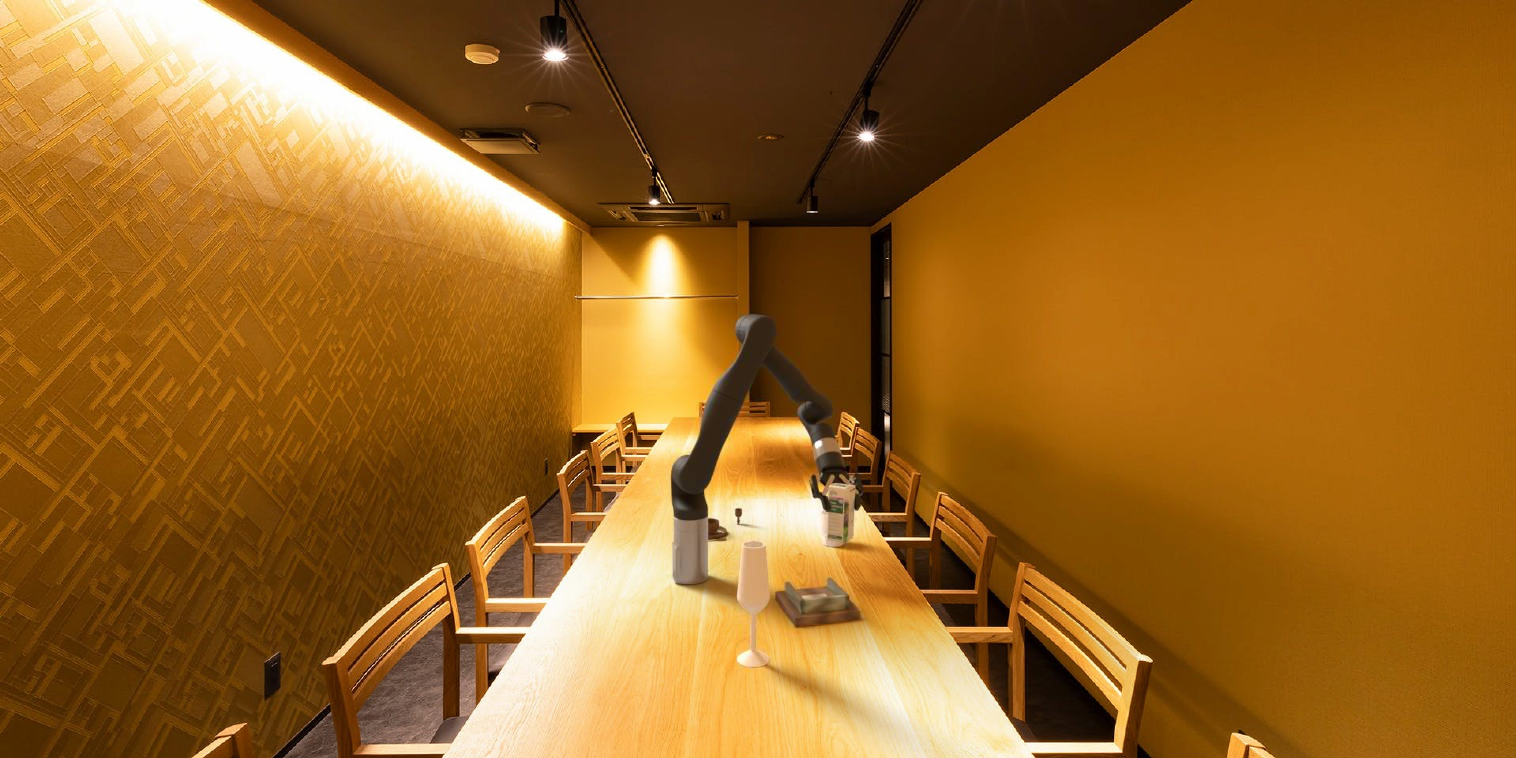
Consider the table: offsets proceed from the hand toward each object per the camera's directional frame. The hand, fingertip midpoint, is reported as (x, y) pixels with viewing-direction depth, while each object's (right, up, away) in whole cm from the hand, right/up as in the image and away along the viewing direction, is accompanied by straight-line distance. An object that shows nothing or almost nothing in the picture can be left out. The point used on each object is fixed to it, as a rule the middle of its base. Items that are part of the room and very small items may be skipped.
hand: (843, 509), depth 177 cm
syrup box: (-1, -8, +2) cm, 9 cm away
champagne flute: (-23, -23, -39) cm, 51 cm away
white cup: (+1, -18, +35) cm, 39 cm away
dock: (-8, -21, -14) cm, 27 cm away
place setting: (-35, -17, +46) cm, 61 cm away
